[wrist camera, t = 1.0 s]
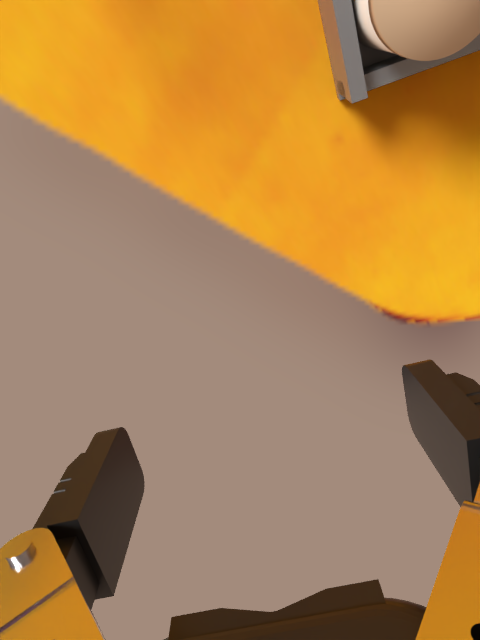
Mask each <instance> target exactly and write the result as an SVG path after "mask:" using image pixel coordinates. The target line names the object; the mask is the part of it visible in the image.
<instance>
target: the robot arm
mask: <svg viewBox="0 0 480 640" xmlns="http://www.w3.org/2000/svg"><path fill="white" fill-rule="evenodd" d="M402 375H403V383H404V390H405V397H406V403H407V411H408V416H409V421H410V424H411V427H412V430H413V432H414V434H415V436H416V438H417V439H418V441H419V443H420V444H421V446H422V447H423V449H424V451H425V452H426V454H427V455H428V457H429V458H430V460H431V461H432V463H433V465H434V466H435V468H436V469H437V471H438V472H439V474H440V476H441V477H442V479H443V480H444V482H445V483H446V485H447V486H448V488H449V489H450V491H451V493H452V494H453V495H454V497H455V499H456V501H457V502H458V504H459V505H460V507H461V508H460V511H459V514H458V517H457V519H456V523H455V525H454V528H453V531H452V534H451V537H450V540H449V543H448V546H447V549H446V552H445V555H444V558H443V561H442V564H441V566H440V569H439V572H438V575H437V578H436V581H435V584H434V587H433V590H432V593H431V596H430V599H429V602H428V605H427V607H424V606H422V605H419V604H415V603H412V602H409V601H405V600H399V599H393V598H384V596H383V593H382V589H381V586H380V584H379V581H378V580H373V581H367V582H362V583H356V584H350V585H345V586H339V587H334V588H328V589H325V590H323V591H320V592H318V593H316V594H314V595H312V596H309V597H307V598H305V599H303V600H300V601H298V602H296V603H294V604H291V605H289V606H287V607H285V608H283V609H280V610H278V611H274V612H263V611H250V610H238V609H225V608H219V609H213V610H208V611H203V612H197V613H192V614H187V615H181V616H175V617H172V618H171V625H170V632H169V637H168V638H166V639H164V640H480V385H479V384H478V383H477V382H476V381H474V380H473V379H471V378H468V377H466V376H463V375H461V374H458V373H452V374H447V375H446V374H445V373H444V372H443V371H442V370H441V369H440V368H439V367H438V366H437V365H436V364H435V363H434V362H433V361H432V360H426V361H422V362H417V363H413V364H408V365H404V366H403V367H402ZM60 481H61V482H60V483H58V485H57V487H56V488H55V490H54V494H52V495H51V497H50V499H49V501H48V502H47V504H46V506H45V508H44V510H43V511H42V513H41V515H40V517H39V518H38V520H37V522H36V524H35V525H34V527H33V529H31V530H28V531H26V532H23V533H21V534H19V535H17V536H16V537H14V538H13V539H11V540H10V541H8V542H7V543H6V544H5V545H4V546H3V547H2V548H0V640H105V638H104V636H103V634H102V632H101V630H100V628H99V626H98V624H97V622H96V620H95V617H94V616H93V614H92V611H91V609H92V605H93V602H94V600H95V599H100V598H105V597H111V596H114V593H115V589H116V586H117V582H118V579H119V576H120V572H121V569H122V565H123V562H124V558H125V554H126V552H127V548H128V545H129V541H130V538H131V534H132V531H133V527H134V524H135V521H136V517H137V514H138V510H139V507H140V503H141V500H142V497H143V493H144V476H143V472H142V469H141V466H140V464H139V461H138V459H137V456H136V454H135V451H134V448H133V446H132V443H131V441H130V438H129V436H128V433H127V431H126V430H125V429H124V428H123V427H120V428H116V429H111V430H107V431H102V432H98V433H96V434H95V435H94V437H93V439H92V441H91V443H90V445H89V447H88V449H87V450H86V452H85V453H82V454H80V455H79V456H78V457H77V458H76V459H75V460H74V461H73V462H72V463H71V464H70V465H69V466H68V467H67V469H66V471H65V472H64V474H63V476H62V478H61V480H60Z"/></svg>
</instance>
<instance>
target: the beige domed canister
mask: <svg viewBox="0 0 480 640" xmlns="http://www.w3.org/2000/svg"><path fill="white" fill-rule="evenodd" d="M351 2H352V7H353V13H354V19H355V25H356V31H357V37H358V41H359V42H360V43H361V44H363V45H365V46H367V47H369V48H372V49H377V50H381V51H386V52H391V53H395V54H397V55H399V56H401V57H405V58H408V59H413V60H419V61H431V60H438V59H441V58H444V57H447V56H449V55H452V54H454V53H456V52H457V51H459V50H461V49H462V48H464V47H465V46H466V45H468V44H469V43H470V42H471V41H472V40H473V39H475V38H476V37H477V36H478V35H479V33H480V0H351Z"/></svg>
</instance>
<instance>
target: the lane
mask: <svg viewBox="0 0 480 640" xmlns="http://www.w3.org/2000/svg"><path fill="white" fill-rule="evenodd" d="M318 4H319V9H320V13H321V18H322V23H323V28H324V33H325V38H326V43H327V48H328V52H329V57H330V62H331V67H332V72H333V77H334V82H335V87H336V91H337V96H338V99H339V100H342V99H345V98H346V99H347V100H348V101H349V102H351V103H355V102H358V101H360V100H363V99H366V98H368V95H367V91H369V90H372V89H375V88H378V87H380V86H383V85H386V84H389V83H391V82H394V81H397V80H399V79H402V78H405V77H408V76H410V75H413V74H416V73H419V72H421V71H424V70H427V69H430V68H432V67H435V66H438V65H440V64H443V63H446V62H449V61H451V60H454V59H457V58H460V57H462V56H465V55H468V54H471V53H473V52H476V51H479V50H480V33H479V35H478V36H477V37H476V38H475V39H473V40H472V41H471V42H470V43H469V44H468V45H466V46H465V47H464V48H462V49H461V50H459V51H457V52H456V53H454V54H452V55H449V56H447V57H444V58H441V59H438V60H431V61H419V60H413V59H408V58H405V57H401V56H399V55H397V54H395V53H391V52H386V51H381V50H377V49H372V48H369V47H367V46H365V45H363V44H361V43H360V42H359V41H358V37H357V31H356V25H355V19H354V13H353V7H352V2H351V0H318Z"/></svg>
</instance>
